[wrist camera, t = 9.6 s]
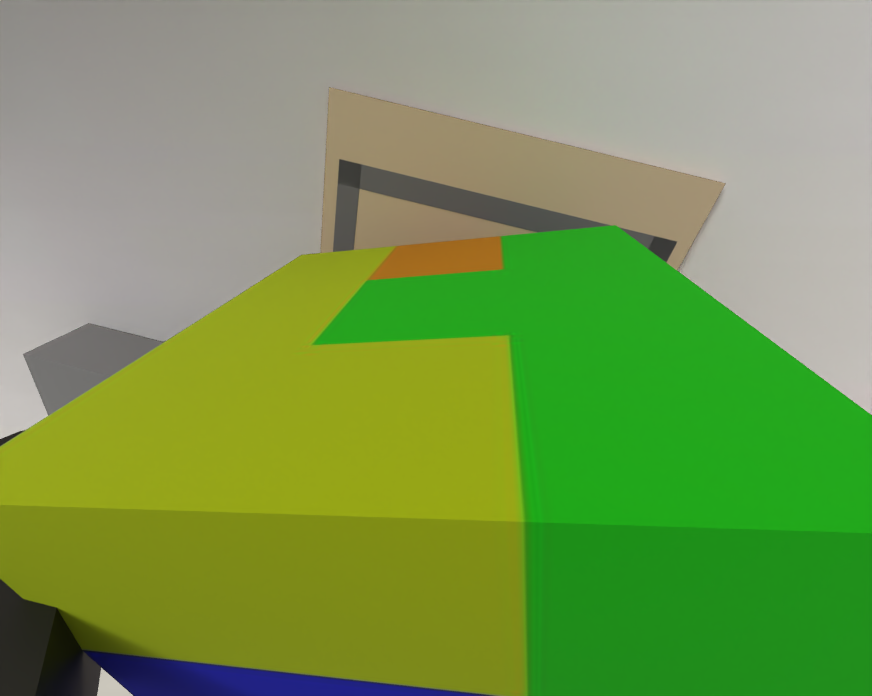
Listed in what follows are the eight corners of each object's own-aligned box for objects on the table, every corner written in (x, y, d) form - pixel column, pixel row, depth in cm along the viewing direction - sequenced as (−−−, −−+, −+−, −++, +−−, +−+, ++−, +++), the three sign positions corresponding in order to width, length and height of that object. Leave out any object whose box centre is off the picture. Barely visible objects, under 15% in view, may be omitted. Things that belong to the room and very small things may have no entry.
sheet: (332, 88, 12) (329, 87, 12) (720, 182, 12) (725, 183, 12) (312, 439, 20) (310, 443, 20) (547, 498, 20) (548, 503, 20)
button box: (88, 323, 19) (23, 353, 16) (286, 372, 18) (252, 411, 16) (129, 463, 24) (85, 504, 21) (285, 503, 24) (259, 548, 21)
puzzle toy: (364, 468, 18) (240, 789, 9) (301, 255, 13) (-88, 502, 4) (591, 470, 16) (709, 869, 7) (615, 225, 11) (1039, 538, 3)
